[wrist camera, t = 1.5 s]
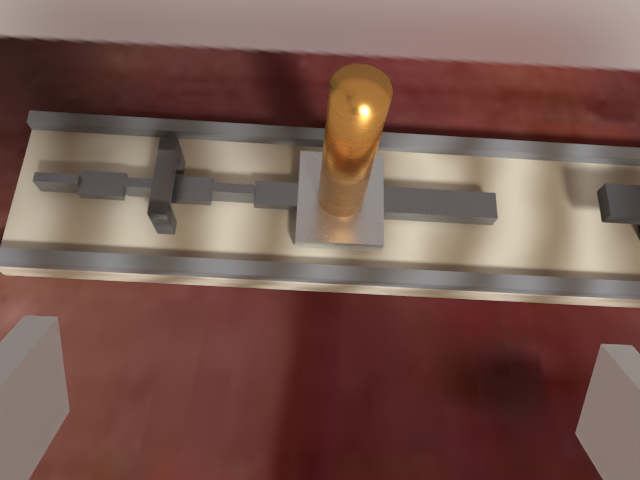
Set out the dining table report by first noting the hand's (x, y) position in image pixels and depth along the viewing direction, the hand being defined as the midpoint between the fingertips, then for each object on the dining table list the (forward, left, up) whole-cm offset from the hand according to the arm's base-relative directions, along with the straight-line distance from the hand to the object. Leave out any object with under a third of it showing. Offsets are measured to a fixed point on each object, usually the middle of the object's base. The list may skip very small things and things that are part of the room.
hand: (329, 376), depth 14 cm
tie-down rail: (-9, +13, -25) cm, 30 cm away
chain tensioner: (-14, +9, -23) cm, 28 cm away
